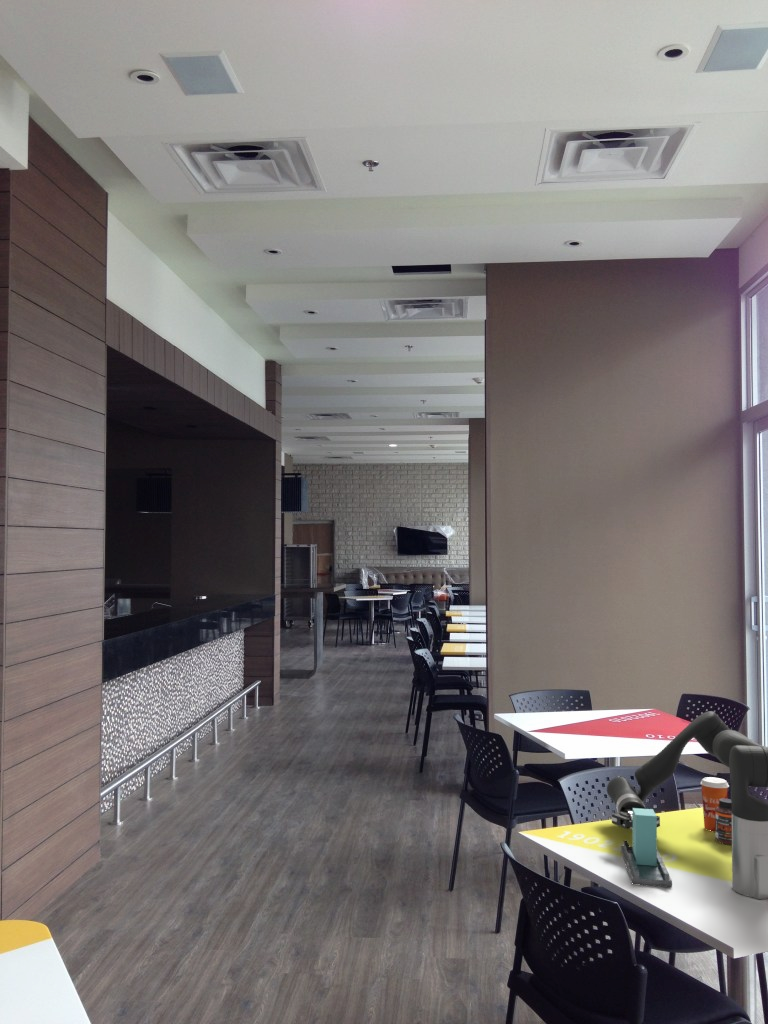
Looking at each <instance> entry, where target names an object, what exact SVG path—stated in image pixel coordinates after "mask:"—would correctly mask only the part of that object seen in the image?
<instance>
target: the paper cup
mask: <svg viewBox="0 0 768 1024" xmlns="http://www.w3.org/2000/svg"><path fill="white" fill-rule="evenodd" d="M727 781H728V780H725V779H724V778H719V777H712V776H709V777H708V776H707V777H704V778H702V779H701V781H700V785H701V797H702V798H701V799H702V810H703V825H704V830H706V829H707V830H706V831H708V830H711V831H710V832H712V831H715V810H716V807H718V806H719V799H728V788H730V785H729V782H727Z"/></svg>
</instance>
